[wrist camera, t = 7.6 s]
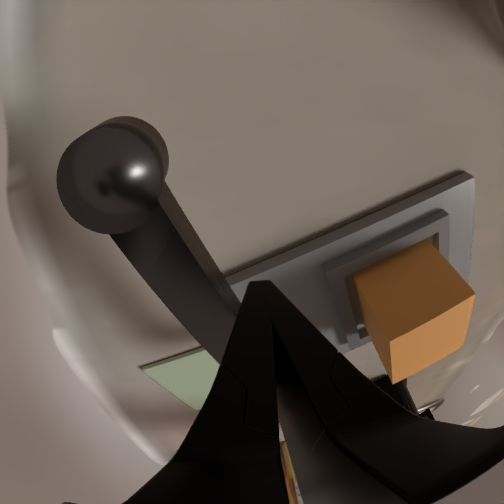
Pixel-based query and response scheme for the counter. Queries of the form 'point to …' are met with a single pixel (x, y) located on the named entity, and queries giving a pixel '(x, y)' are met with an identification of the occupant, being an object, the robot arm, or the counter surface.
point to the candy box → (290, 477)
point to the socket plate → (367, 256)
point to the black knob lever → (147, 223)
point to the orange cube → (413, 308)
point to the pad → (186, 375)
